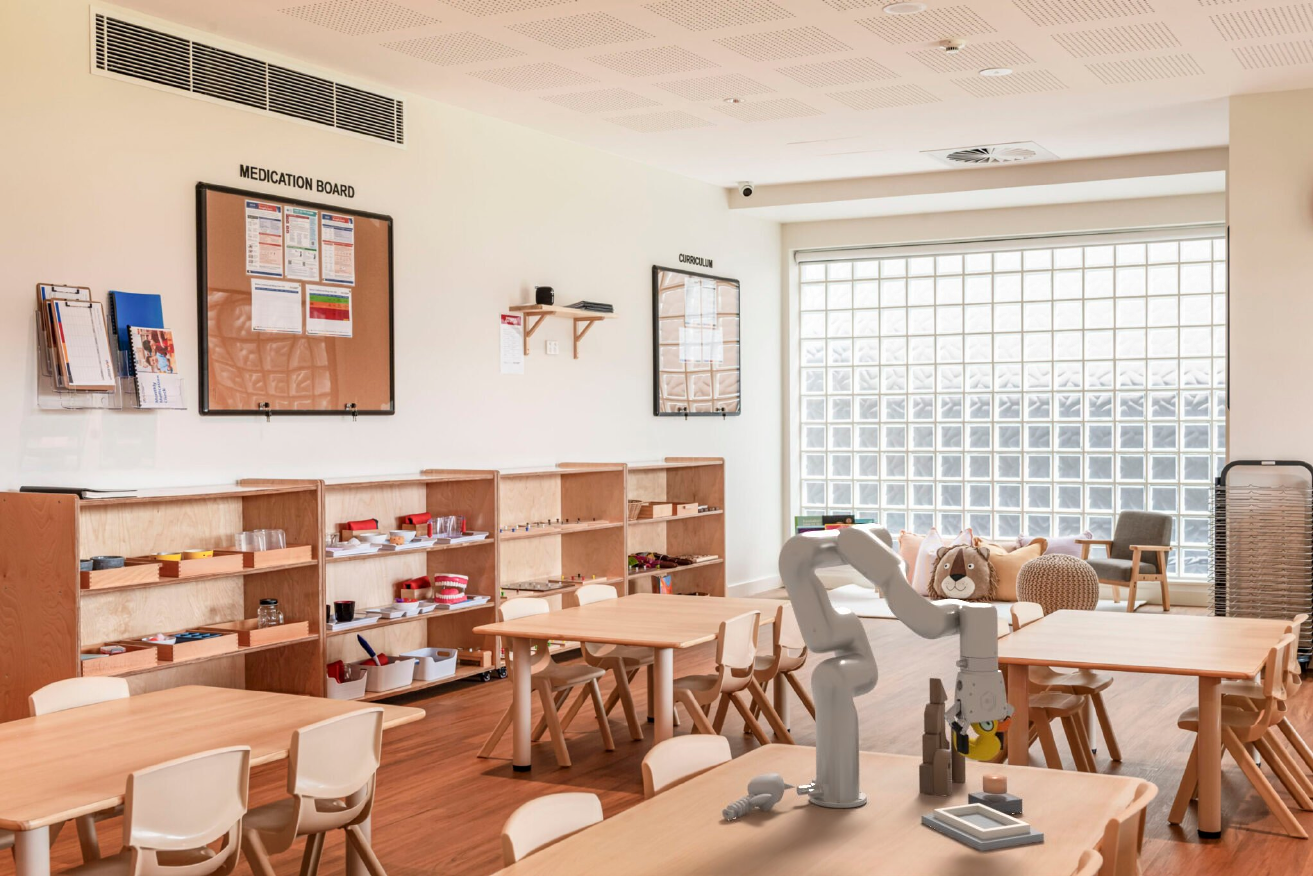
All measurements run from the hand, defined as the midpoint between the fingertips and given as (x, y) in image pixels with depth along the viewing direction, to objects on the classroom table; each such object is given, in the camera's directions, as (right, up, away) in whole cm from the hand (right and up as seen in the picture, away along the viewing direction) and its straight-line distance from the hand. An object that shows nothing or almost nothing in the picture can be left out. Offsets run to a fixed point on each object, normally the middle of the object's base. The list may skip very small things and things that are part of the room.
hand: (980, 750), depth 251 cm
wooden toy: (0, -17, +33) cm, 38 cm away
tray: (0, -16, 0) cm, 16 cm away
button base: (+7, -17, +15) cm, 23 cm away
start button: (+7, -12, +15) cm, 20 cm away
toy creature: (-44, -17, +16) cm, 50 cm away
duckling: (0, -2, 0) cm, 2 cm away
